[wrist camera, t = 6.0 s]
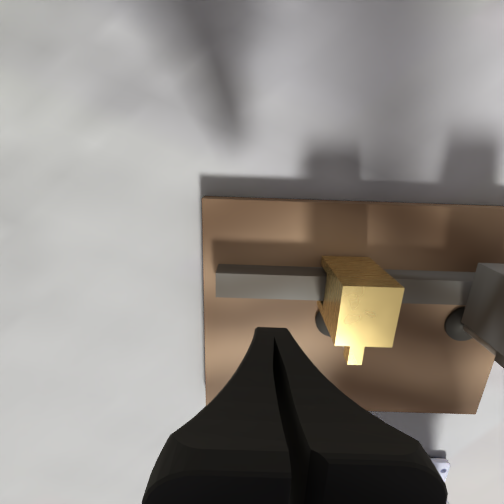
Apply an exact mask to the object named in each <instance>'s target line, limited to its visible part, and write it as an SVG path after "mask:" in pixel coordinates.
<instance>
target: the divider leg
mask: <svg viewBox="0 0 504 504" xmlns="http://www.w3.org/2000/svg"><path fill="white" fill-rule="evenodd" d="M321 265H322V267H323V269H324V270H325V272H326V273H327V278H326V286H325V294H324V301H318V300H317V306H318V308H319V310H320V313H321V315H322V317H323V320H324V322H325V324H326V327H327V329H328V331H329V334H330V336H331V338H332V341H333V343H334V345H335V346H343V348H344V353H343V356H344V358H345V361H346V363H347V365H362V360H363V354H364V348H365V347H391V348H392V346H393V341H394V336H395V332H396V327H397V322H398V317H399V313H400V308H401V303H402V298H403V294H404V289H405V288H404V287H403V286H402V285H401V284H400V283H398V282H397V281H396V280H395V279H394V278H393V277H392V276H390V275H389V274H388V273H387V272H386V271H385V270H383V269H382V268H381V267H380V266H379V265H378V264H377V263H375V262H374V261H373V260H372V259H371V258H370V257H350V256H322V260H321Z"/></svg>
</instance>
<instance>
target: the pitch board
mask: <svg viewBox="0 0 504 504" xmlns="http://www.w3.org/2000/svg"><path fill="white" fill-rule="evenodd" d="M202 229H203V279H204V329H205V379H206V406H207V405H208V404H209V403H210V402H211V401H212V400H213V399H214V398H215V397H216V396H217V394H218V393H219V392H220V391H221V390H222V389H223V387H224V386H225V385H226V384H227V382H228V381H229V380H230V379H231V377H232V376H233V374H234V373H235V371H236V370H237V368H238V367H239V365H240V363H241V362H242V360H243V358H244V356H245V355H246V353H247V350H248V348H249V346H250V344H251V342H252V339H253V336H254V331H255V329H256V328H257V327H276V328H287V329H288V330H289V331H290V333H291V334H292V336H293V338H294V339H295V340H296V342H297V343H298V345H299V346H300V347H301V349H302V350H303V351H304V353H305V354H306V355H307V357H308V358H309V359H310V360H311V361H312V363H313V364H314V365H315V366H316V367H317V368H318V369H319V371H320V372H321V373H322V374H323V375H324V376H325V377H326V378H327V379H328V380H329V381H330V382H331V383H333V384H334V385H335V386H336V387H337V388H338V389H339V390H340V391H342V392H343V393H344V394H345V395H346V396H348V397H349V398H350V399H352V400H353V401H354V402H355V403H357V404H358V405H359V406H361V407H362V408H364V409H365V410H367V411H383V412H416V413H450V414H476V412H477V409H478V406H479V403H480V400H481V397H482V394H483V391H484V388H485V385H486V382H487V379H488V377H489V374H490V371H491V368H492V365H493V362H494V360H495V361H496V362H497V363H498V364H499V365H501V366H502V367H503V368H504V206H488V205H458V204H428V203H399V202H369V201H339V200H309V199H279V198H249V197H220V196H204V197H203V198H202ZM322 256H350V257H370V258H371V259H372V260H373V261H374V262H375V263H377V264H378V265H379V266H380V267H381V268H382V269H383V270H385V271H386V272H387V273H388V274H389V275H390V276H392V277H393V278H394V279H395V280H396V281H397V282H398V283H400V284H401V285H402V286H403V287H404V288H405V289H404V294H403V298H402V303H401V308H400V313H399V317H398V322H397V327H396V332H395V336H394V341H393V346H392V348H391V347H365V348H364V354H363V360H362V365H347V363H346V361H345V358H344V356H343V353H344V348H343V346H335V345H334V343H333V341H332V338H331V336H330V334H329V331H328V329H327V327H326V324H325V322H324V320H323V317H322V315H321V313H320V310H319V308H318V306H317V300H318V301H324V294H325V286H326V278H327V273H326V272H325V270H324V269H323V267H322V265H321V260H322Z"/></svg>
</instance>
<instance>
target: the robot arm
mask: <svg viewBox="0 0 504 504" xmlns="http://www.w3.org/2000/svg"><path fill="white" fill-rule="evenodd" d="M449 468H450V463H449V462H448V460H447V459H443V458H430V457H429V456H428V454H427V453H426V452H425V450H424V449H423V447H422V446H421V444H420V443H419V441H417V440H415V439H413V438H412V437H410V436H408V435H406V434H404V433H403V432H401V431H399V430H397V429H395V428H394V427H392V426H390V425H388V424H387V423H385V422H383V421H382V420H380V419H379V418H377V417H376V416H374V415H372V414H371V413H369V412H368V411H367V410H365V409H364V408H362V407H361V406H359V405H358V404H357V403H355V402H354V401H353V400H352V399H350V398H349V397H348V396H346V395H345V394H344V393H343V392H342V391H340V390H339V389H338V388H337V387H336V386H335V385H334V384H333V383H331V382H330V381H329V380H328V379H327V378H326V377H325V376H324V375H323V374H322V373H321V372H320V371H319V369H318V368H317V367H316V366H315V365H314V364H313V363H312V361H311V360H310V359H309V358H308V357H307V355H306V354H305V353H304V351H303V350H302V349H301V347H300V346H299V345H298V343H297V342H296V340H295V339H294V338H293V336H292V334H291V333H290V331H289V330H288V329H287V328H276V327H257V328H256V329H255V331H254V336H253V339H252V342H251V344H250V346H249V348H248V350H247V353H246V355H245V356H244V358H243V360H242V362H241V363H240V365H239V367H238V368H237V370H236V371H235V373H234V374H233V376H232V377H231V379H230V380H229V381H228V382H227V384H226V385H225V386H224V387H223V389H222V390H221V391H220V392H219V393H218V394H217V396H216V397H215V398H214V399H213V400H212V401H211V402H210V403H209V404H208V405H207V406H206V407H204V408H203V409H202V410H201V411H200V412H199V413H198V414H197V415H196V416H195V417H194V418H192V419H191V420H190V421H189V422H187V423H186V424H185V425H183V426H182V427H181V428H179V429H178V430H177V431H175V432H174V433H172V434H171V435H170V436H169V438H168V440H167V442H166V443H165V445H164V447H163V449H162V451H161V453H160V455H159V457H158V459H157V461H156V463H155V466H154V468H153V470H152V473H151V475H150V478H149V481H148V484H147V487H146V490H145V493H144V496H143V500H142V504H449V503H448V501H447V495H448V493H447V489H446V485H445V480H446V477H447V474H448V471H449Z"/></svg>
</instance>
